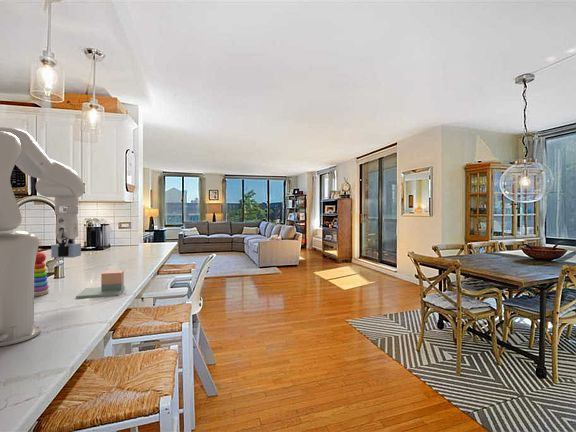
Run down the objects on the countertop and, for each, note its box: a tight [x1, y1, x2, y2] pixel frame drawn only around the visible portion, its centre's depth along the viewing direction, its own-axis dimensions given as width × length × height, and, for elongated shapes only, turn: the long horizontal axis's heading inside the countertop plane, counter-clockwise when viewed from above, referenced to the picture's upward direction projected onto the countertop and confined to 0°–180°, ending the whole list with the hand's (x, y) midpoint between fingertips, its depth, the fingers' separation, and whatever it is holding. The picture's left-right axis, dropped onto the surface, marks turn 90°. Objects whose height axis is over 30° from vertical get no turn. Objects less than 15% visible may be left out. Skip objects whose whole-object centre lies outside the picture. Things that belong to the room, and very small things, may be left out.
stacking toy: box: [34, 251, 50, 297], centre depth 126 cm, size 8×8×19 cm
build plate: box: [75, 280, 126, 299], centre depth 130 cm, size 13×16×4 cm
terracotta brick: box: [100, 270, 125, 285], centre depth 132 cm, size 5×8×5 cm, turn 109°
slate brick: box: [50, 243, 82, 259], centre depth 115 cm, size 5×8×5 cm, turn 96°
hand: (66, 254), depth 115 cm, fingers closed on slate brick, 5 cm apart
